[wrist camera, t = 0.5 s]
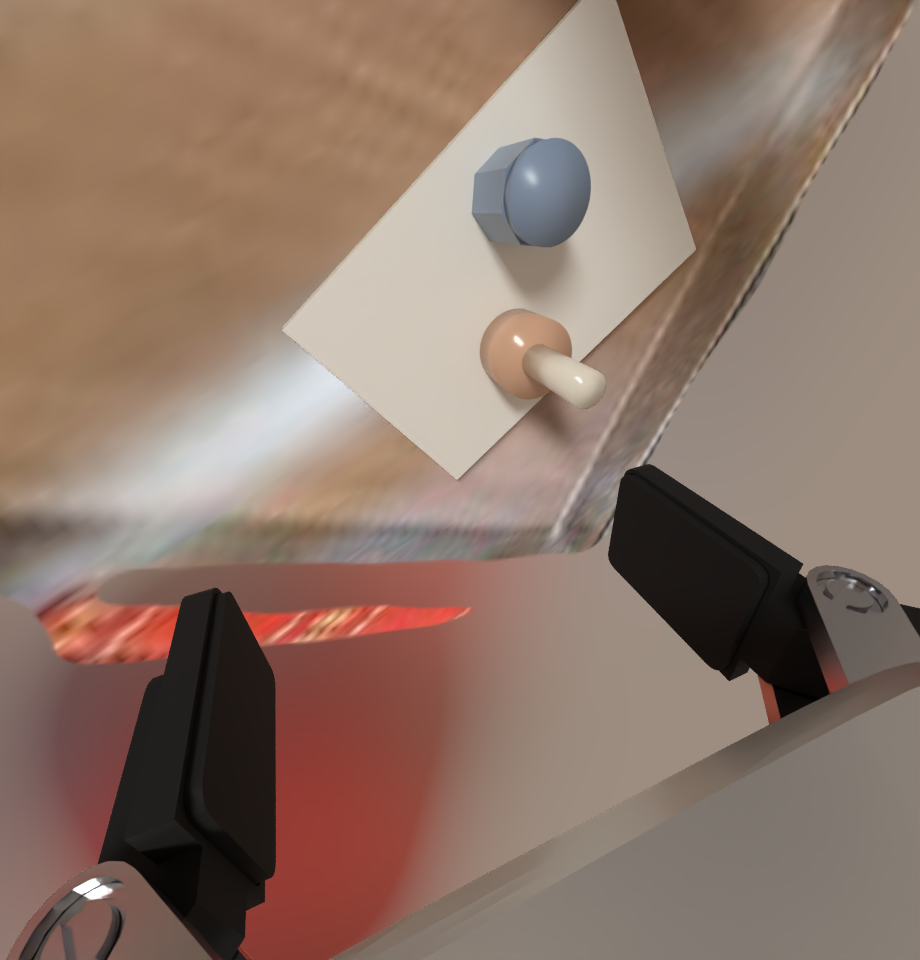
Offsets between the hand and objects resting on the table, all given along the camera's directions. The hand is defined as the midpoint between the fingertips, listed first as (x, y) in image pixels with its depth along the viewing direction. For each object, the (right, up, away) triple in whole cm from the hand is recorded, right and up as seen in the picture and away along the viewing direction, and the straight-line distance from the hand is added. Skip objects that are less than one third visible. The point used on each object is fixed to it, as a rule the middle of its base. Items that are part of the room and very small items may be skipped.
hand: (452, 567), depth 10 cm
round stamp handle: (+5, +13, +27) cm, 30 cm away
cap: (+4, +22, +20) cm, 30 cm away
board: (+4, +18, +25) cm, 31 cm away
